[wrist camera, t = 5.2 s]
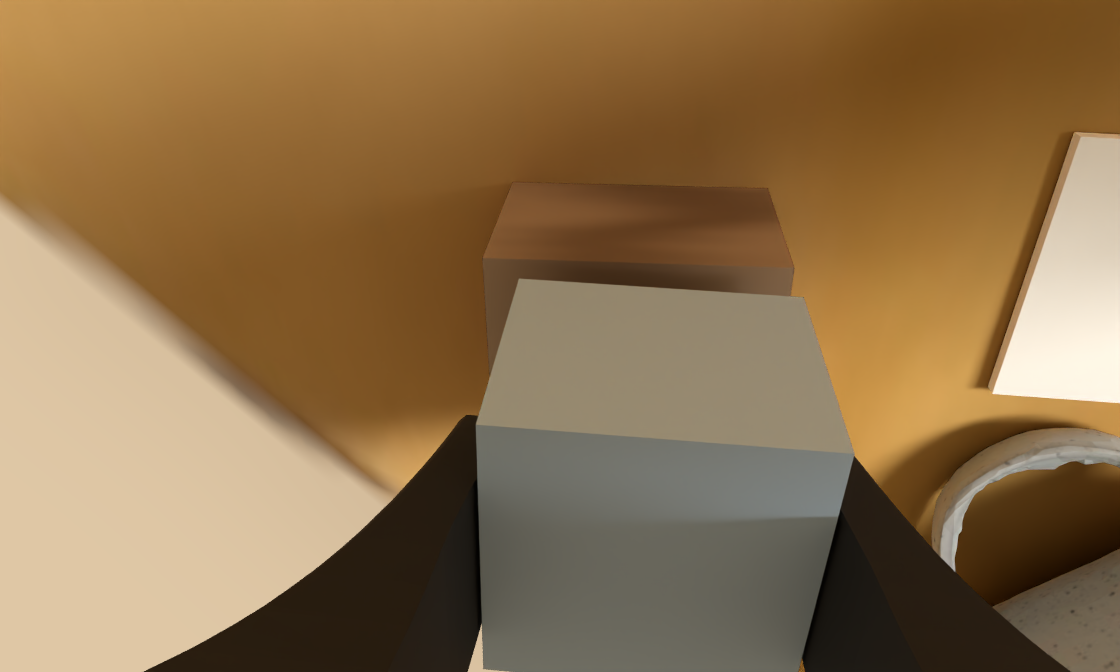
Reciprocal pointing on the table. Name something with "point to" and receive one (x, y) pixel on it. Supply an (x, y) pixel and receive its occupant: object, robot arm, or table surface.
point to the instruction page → (1071, 287)
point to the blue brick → (655, 481)
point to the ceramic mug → (1068, 600)
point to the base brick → (633, 241)
